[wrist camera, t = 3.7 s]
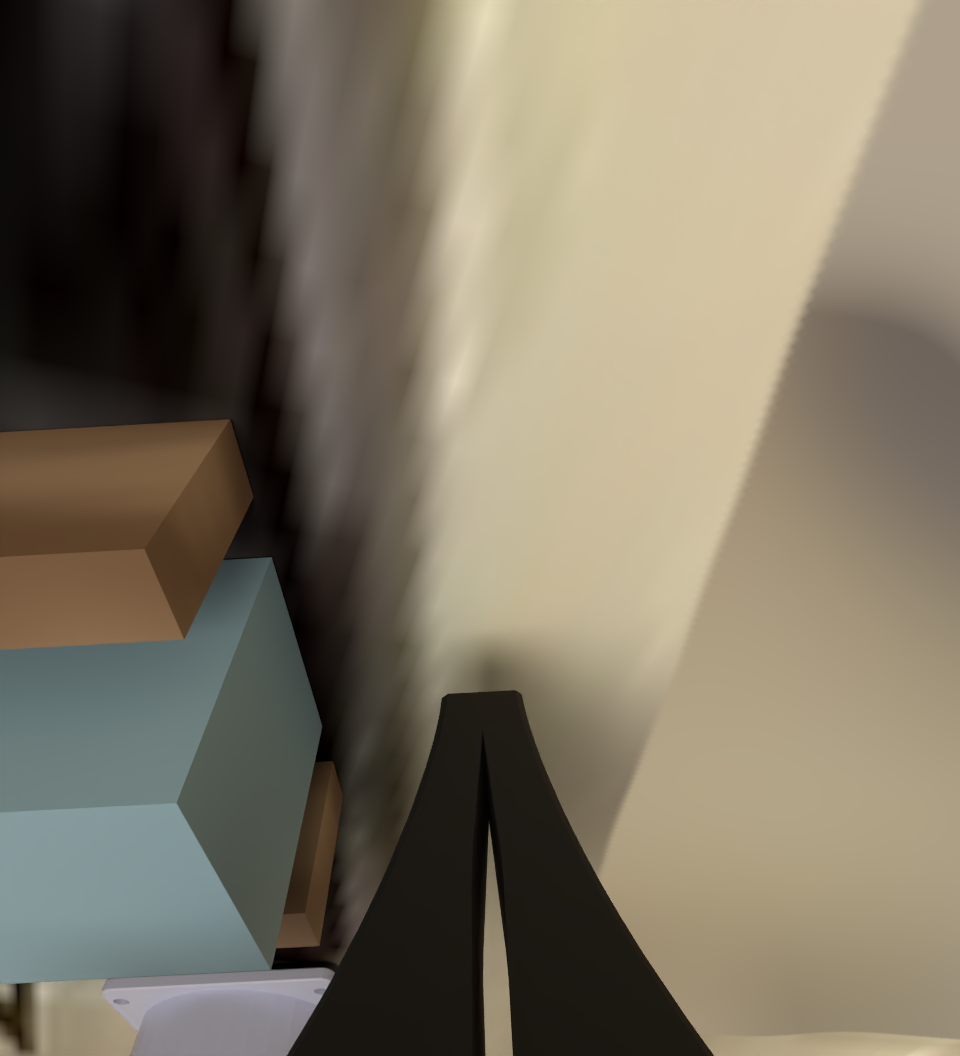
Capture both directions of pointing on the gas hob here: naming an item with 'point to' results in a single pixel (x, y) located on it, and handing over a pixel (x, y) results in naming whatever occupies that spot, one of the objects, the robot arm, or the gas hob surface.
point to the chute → (138, 570)
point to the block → (155, 793)
